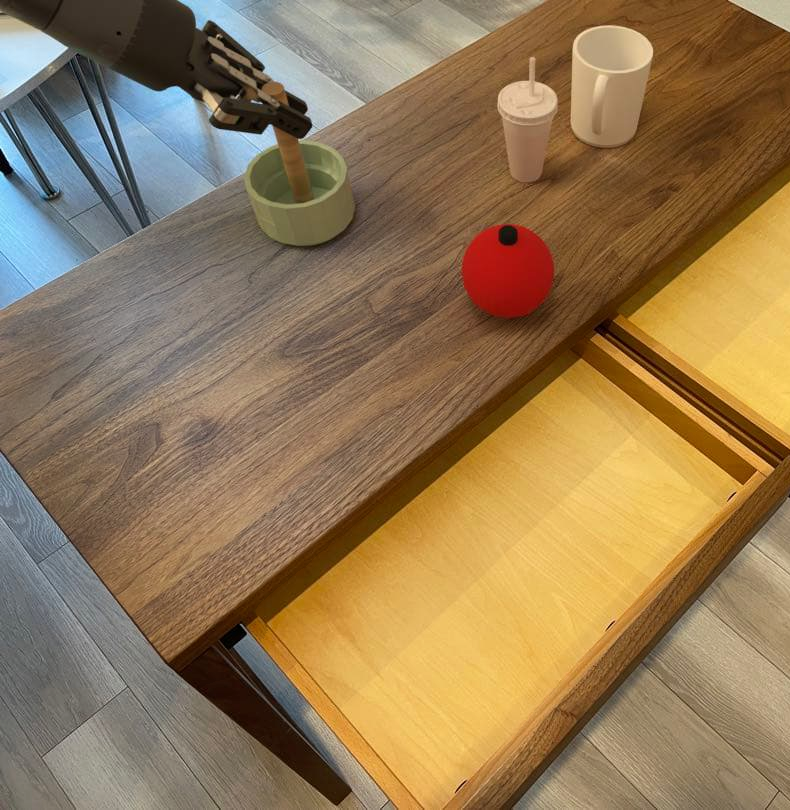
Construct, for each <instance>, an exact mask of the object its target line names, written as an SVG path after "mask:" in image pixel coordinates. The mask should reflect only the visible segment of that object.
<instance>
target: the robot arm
mask: <svg viewBox="0 0 790 810" xmlns="http://www.w3.org/2000/svg"><path fill="white" fill-rule="evenodd" d="M0 12H2V13H3V14H5V15H7V16H8V17H12V18H13V19H16V20H17V21H19V22H22V23H23V24H25V25H27V26H30V27H31V28H33V29H36V30H38V31H40V32H42V33H43V34H46V35H47V36H49V37H50V38H52V39H53V40H55V41H57V42H58V43H59V44H61V45H63V46H64V47H66V48H68V49H69V50H71V51H73V52H75V53H76V54H78V55H80V56H83V57H85V58H87V59H88V60H91V61H92V62H95V63H97V64H99V65H100V66H103V67H104V68H107V69H109V70H111V71H113V72H115V73H116V74H119V75H121V76H123V77H125V78H127V79H129V80H131V81H133V82H135V83H137V84H139V85H141V86H143V87H145V88H147V89H149V90H152V91H154V92H157V93H159V92H164V91H166V90H168V89H171V88H173V87H177V88H179V89H181V90H183V91H184V92H186V93H187V94H188V95H189V96H190V97H192V98H193V99H195V100H196V101H198V102H202V103H205V104H206V106H207V107H208V108H209V109H210V111H211V112H212V114H211V116H210V117H209V119H208V123H209V124H210V125H211V126H212V127H213V128H214V129H218V130H222V131H230V132H237V133H245V134H251V135H252V134H253V135H260V136H261V135H263V134H264V132H265V131H266V130H267V128H268V127H269V126H271V127H273V126H274V127H276V128H278V129H280V130H282V131H284V132H286V133H288V134H290V135H292V136H294V137H296V138H297V139H298V140H304V139H305V137H306V136H307V135H308V133H309V132H310V131H311V130H312V128H313V122H312V119H311V117H309V116H307V115H306V114H307V113H308V111H309V107H308V104H307V102H306V101H305V100H303V99H302V98H300V97H298V96H296V95H294V94H293V93H291V92H289V91H288V90H286V89H285V93H286V97H287V100H288V104H289V106H287V105H286V104H284V103H282V102H280V101H279V102H278V101H277V100H276V99H275V98H273V97H271V96H270V95H268V94H266V93H265V92H263V91H262V87H263V85H265V84H266V83H269V82H275V81H274V79H273V78H272V77H271V76H270V75H268V74H267V73H266V72H265V73H264V71H265V69H266V66H265V64H263V62H261V60H259V59H258V58H257V57H256V56H254V55H253V54H252V53H251V52H250V51H249V50H248V49H246V48H245V47H244V46H243V45H242V44H241V43H239V42H238V41H237V40H236V39H235V38H233V37H232V36H231V35H230V34H229V33H228V32H227V31H225V29H223V28H222V27H221V26H220V25H218V24H217V23H216V22H215V21H213V20H211V19H209V20H207V21H206V23H205V25H204V26H203V27H202V29H200V28H197V19H196V15H195V13H194V11H193V9H192V8H191V7H189V6H188V5H186V4H185V3H183V2H181V1H180V0H0Z"/></svg>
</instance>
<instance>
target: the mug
mask: <svg viewBox="0 0 790 810" xmlns="http://www.w3.org/2000/svg"><path fill="white" fill-rule="evenodd" d="M652 45H653V44H652V43H651V42H650V41H649V39H648V38H647V37H646V36H645V35H643V34H641V33H640V32H639V31H636V30H634V29H632V28H628V27H624V26H621V25H613V24H610V25H599V26H598V25H597V26H593V27H590V28H588V29H585V30H583V31H582V32H581V33H579V34H578V35H577V36H576V38H575V39H574V40H573V44H572V52H571V95H570V96H571V97H570V128H571V132H572V133H573V134H574V136H575V137H576V138H577V139H578V140H579V141H581V142H582V143H584V144H586V145H589V146H591V147H595V148H598V149H599V148H601V149H613V148H617V147H622V146H624V145H626V144H627V143H629V142H630V141H631V140H632V139H633V138H634V136H635V135H636V133H637V128H638V124H639V120H640V116H641V112H642V107H643V102H644V97H645V92H646V89H647V84H648V79H649V75H650V71H651V66H652V62H653V58H654V48H653V46H652Z"/></svg>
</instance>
